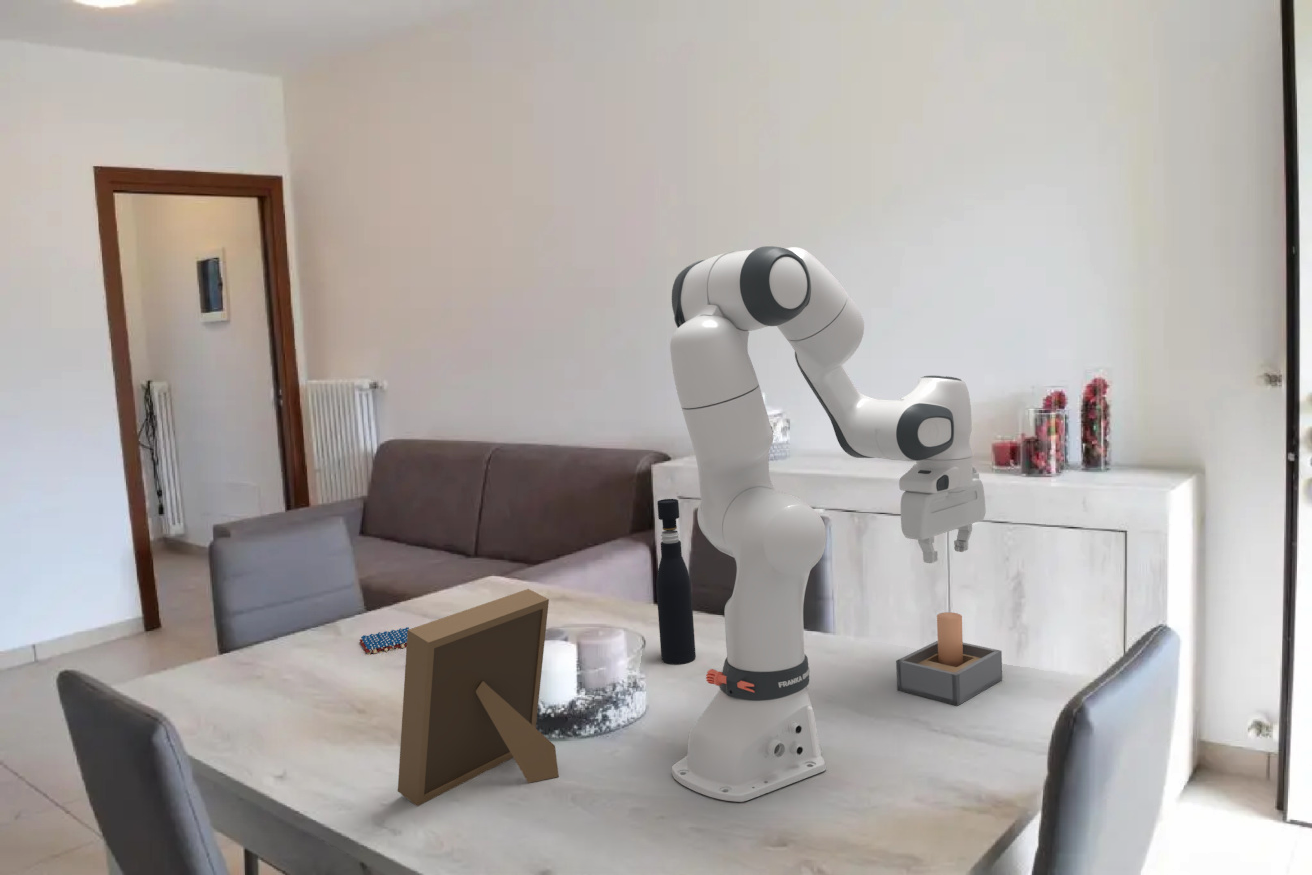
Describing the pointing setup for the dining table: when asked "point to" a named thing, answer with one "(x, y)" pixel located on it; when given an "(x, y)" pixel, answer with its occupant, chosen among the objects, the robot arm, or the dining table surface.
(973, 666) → the bore box
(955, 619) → the peg
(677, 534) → the black bottle
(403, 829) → the dining table surface
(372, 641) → the woven mat
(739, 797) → the robot arm
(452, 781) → the photo frame
